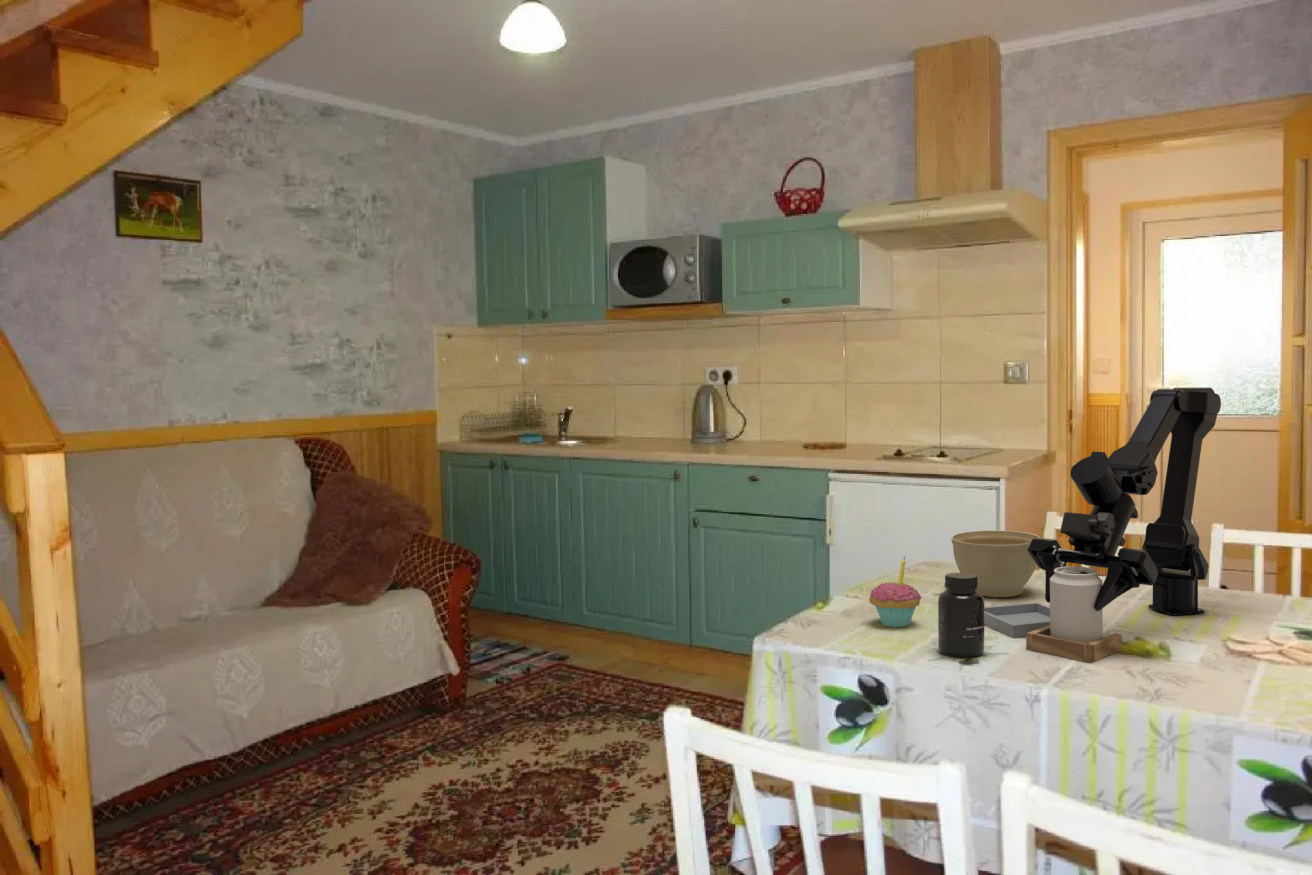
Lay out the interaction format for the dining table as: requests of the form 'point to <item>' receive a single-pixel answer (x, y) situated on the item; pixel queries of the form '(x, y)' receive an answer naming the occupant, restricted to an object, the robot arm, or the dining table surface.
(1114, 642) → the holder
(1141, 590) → the dining table surface
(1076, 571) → the can
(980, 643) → the supplement bottle
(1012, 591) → the planter bowl
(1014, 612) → the tray
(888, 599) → the cupcake
